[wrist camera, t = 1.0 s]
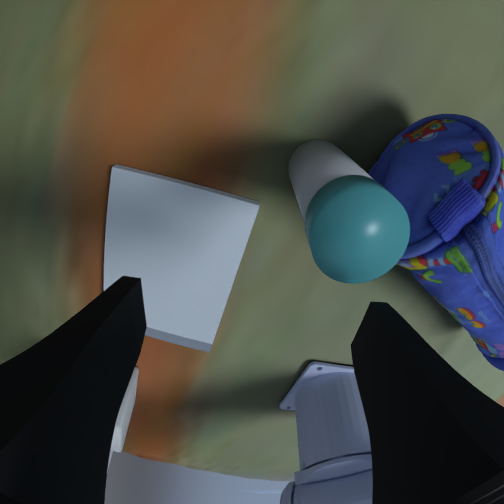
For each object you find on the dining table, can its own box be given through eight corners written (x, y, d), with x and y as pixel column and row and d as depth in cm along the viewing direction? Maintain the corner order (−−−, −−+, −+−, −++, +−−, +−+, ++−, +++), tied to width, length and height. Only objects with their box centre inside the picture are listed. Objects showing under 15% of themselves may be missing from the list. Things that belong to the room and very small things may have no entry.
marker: (355, 151, 16) (426, 211, 9) (333, 204, 18) (380, 292, 11) (299, 130, 16) (336, 173, 9) (278, 186, 18) (294, 269, 10)
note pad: (259, 201, 18) (259, 206, 18) (210, 346, 24) (209, 352, 24) (116, 164, 17) (111, 167, 16) (106, 317, 23) (104, 322, 23)
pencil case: (527, 273, 21) (579, 337, 13) (471, 331, 25) (510, 404, 16) (416, 92, 14) (533, 120, 6) (326, 194, 18) (381, 295, 10)
